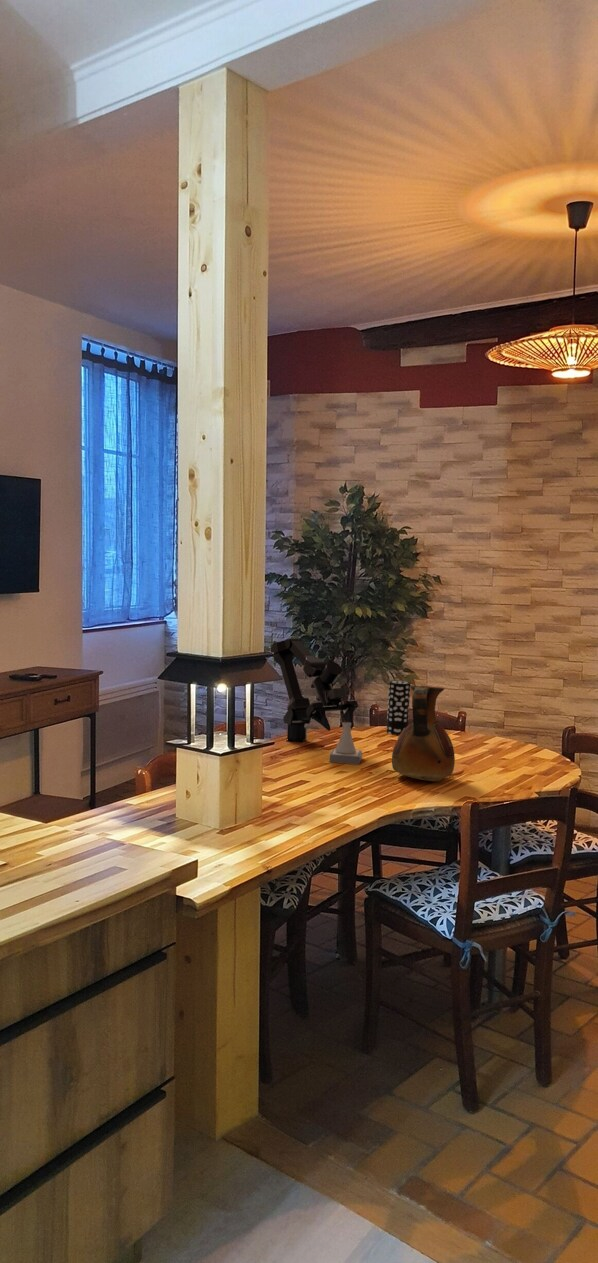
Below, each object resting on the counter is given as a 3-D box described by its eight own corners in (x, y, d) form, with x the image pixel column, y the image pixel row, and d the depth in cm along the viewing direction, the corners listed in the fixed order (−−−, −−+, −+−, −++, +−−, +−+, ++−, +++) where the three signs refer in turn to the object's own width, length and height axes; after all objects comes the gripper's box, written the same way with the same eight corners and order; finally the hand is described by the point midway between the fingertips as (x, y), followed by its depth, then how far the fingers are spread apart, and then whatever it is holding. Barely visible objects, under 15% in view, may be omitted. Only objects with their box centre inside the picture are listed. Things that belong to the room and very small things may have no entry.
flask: (351, 755, 309) (353, 726, 308) (331, 752, 312) (332, 723, 311) (359, 751, 315) (360, 722, 314) (339, 748, 318) (340, 720, 317)
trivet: (329, 762, 309) (329, 754, 309) (332, 755, 319) (333, 747, 319) (359, 764, 308) (359, 756, 308) (361, 757, 318) (362, 750, 318)
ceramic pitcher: (456, 774, 300) (462, 683, 297) (449, 790, 280) (455, 692, 278) (396, 768, 305) (401, 678, 302) (385, 782, 286) (391, 686, 283)
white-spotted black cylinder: (396, 729, 370) (399, 680, 368) (412, 733, 364) (414, 683, 362) (382, 731, 365) (384, 681, 363) (397, 735, 358) (400, 684, 357)
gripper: (312, 679, 314) (328, 717, 306) (357, 677, 324) (373, 714, 315) (298, 697, 321) (314, 735, 313) (343, 695, 331) (359, 732, 323)
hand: (340, 729), depth 316 cm, fingers open, 9 cm apart
